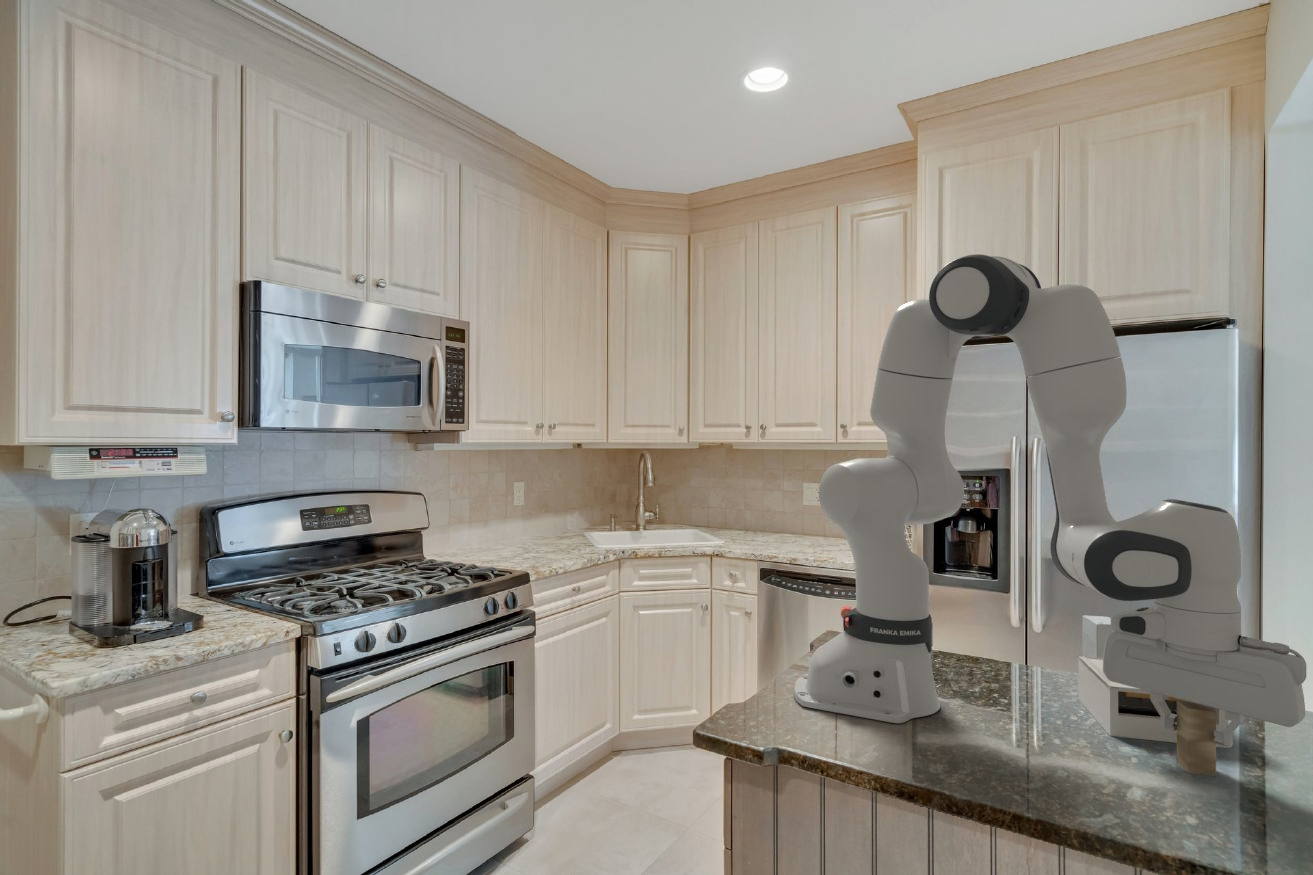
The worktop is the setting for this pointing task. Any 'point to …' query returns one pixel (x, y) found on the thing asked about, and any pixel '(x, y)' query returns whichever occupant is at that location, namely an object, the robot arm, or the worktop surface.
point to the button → (1146, 697)
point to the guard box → (1107, 696)
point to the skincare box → (1095, 635)
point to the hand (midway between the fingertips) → (1195, 736)
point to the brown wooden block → (1196, 738)
